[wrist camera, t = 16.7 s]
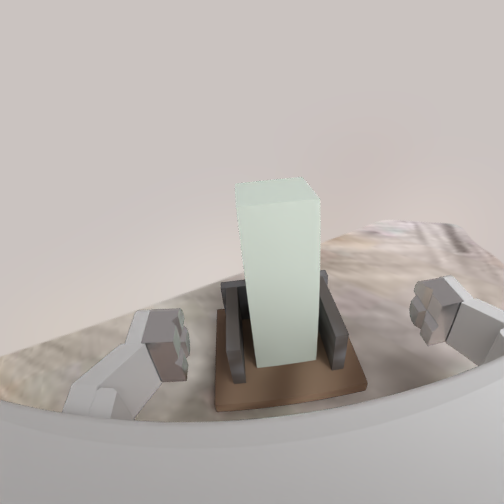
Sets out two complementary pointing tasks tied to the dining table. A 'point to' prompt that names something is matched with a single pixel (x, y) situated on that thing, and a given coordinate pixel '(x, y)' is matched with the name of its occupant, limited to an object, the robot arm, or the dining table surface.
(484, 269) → the dining table surface
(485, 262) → the dining table surface
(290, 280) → the pale green block
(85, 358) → the dining table surface
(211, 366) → the dining table surface
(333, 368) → the bracket socket
